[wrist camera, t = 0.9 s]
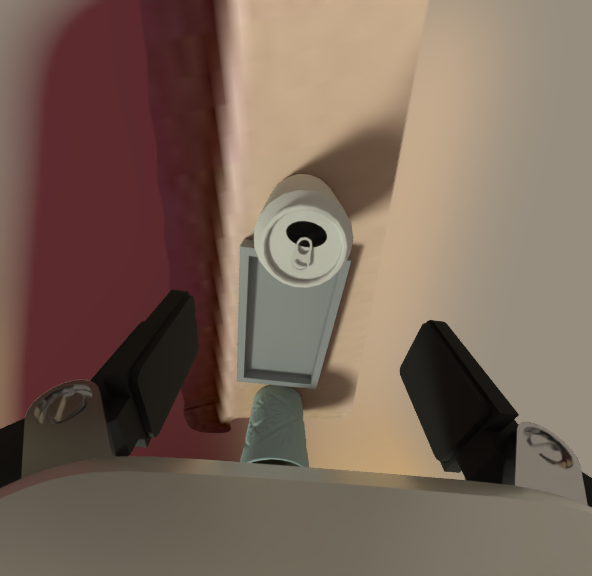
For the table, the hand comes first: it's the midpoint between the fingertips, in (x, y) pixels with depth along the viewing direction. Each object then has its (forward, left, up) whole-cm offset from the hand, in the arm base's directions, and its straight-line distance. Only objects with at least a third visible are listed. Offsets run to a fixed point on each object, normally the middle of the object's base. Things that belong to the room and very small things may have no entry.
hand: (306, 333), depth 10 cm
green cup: (+34, +1, -20) cm, 39 cm away
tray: (+15, 0, -20) cm, 25 cm away
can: (0, 0, -20) cm, 20 cm away
